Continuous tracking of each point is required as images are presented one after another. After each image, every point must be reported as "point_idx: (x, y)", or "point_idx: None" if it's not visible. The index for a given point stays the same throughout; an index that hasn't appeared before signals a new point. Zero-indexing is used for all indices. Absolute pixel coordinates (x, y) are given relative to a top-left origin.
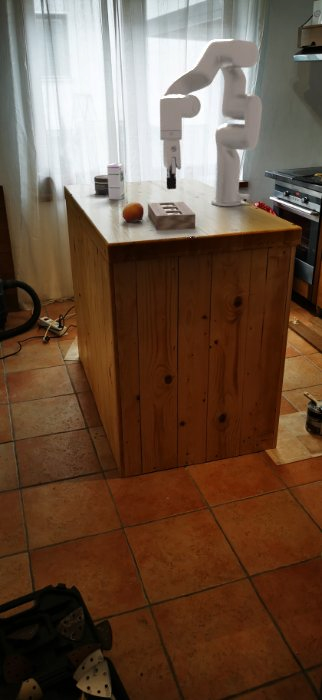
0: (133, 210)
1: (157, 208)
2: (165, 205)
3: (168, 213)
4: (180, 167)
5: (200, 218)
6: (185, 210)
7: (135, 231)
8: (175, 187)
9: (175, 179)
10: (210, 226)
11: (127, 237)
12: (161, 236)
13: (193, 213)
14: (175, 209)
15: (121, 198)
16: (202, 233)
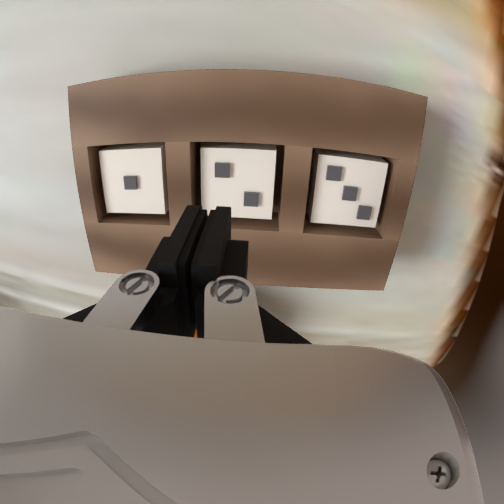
0: None
1: None
2: (113, 189)
3: (320, 215)
4: (444, 382)
5: (196, 7)
6: (315, 113)
7: (353, 318)
8: (230, 215)
9: (220, 259)
10: (376, 12)
11: (405, 341)
12: (447, 256)
13: (405, 97)
14: (223, 152)
15: None
16: (471, 102)
